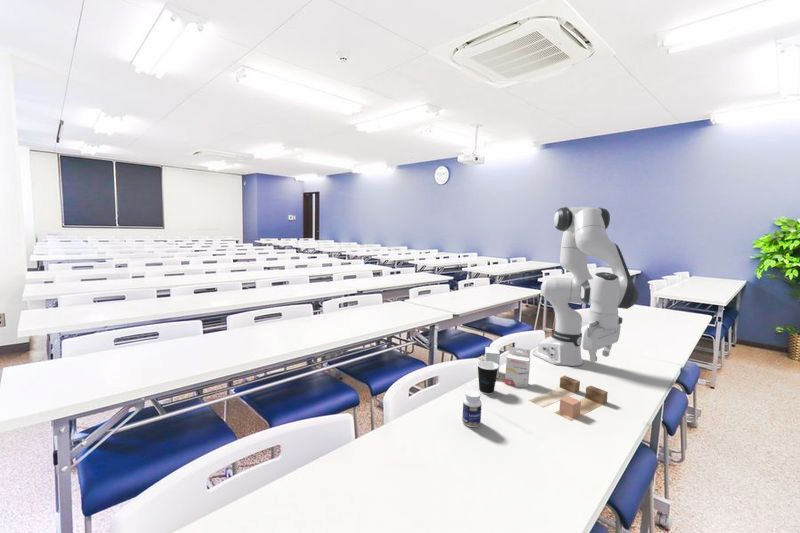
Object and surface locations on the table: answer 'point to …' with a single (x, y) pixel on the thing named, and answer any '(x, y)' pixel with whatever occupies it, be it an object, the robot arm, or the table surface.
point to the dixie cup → (487, 376)
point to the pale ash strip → (558, 392)
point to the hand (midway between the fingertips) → (599, 358)
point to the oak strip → (589, 401)
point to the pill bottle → (472, 409)
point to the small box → (492, 356)
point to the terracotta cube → (570, 406)
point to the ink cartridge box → (517, 367)
